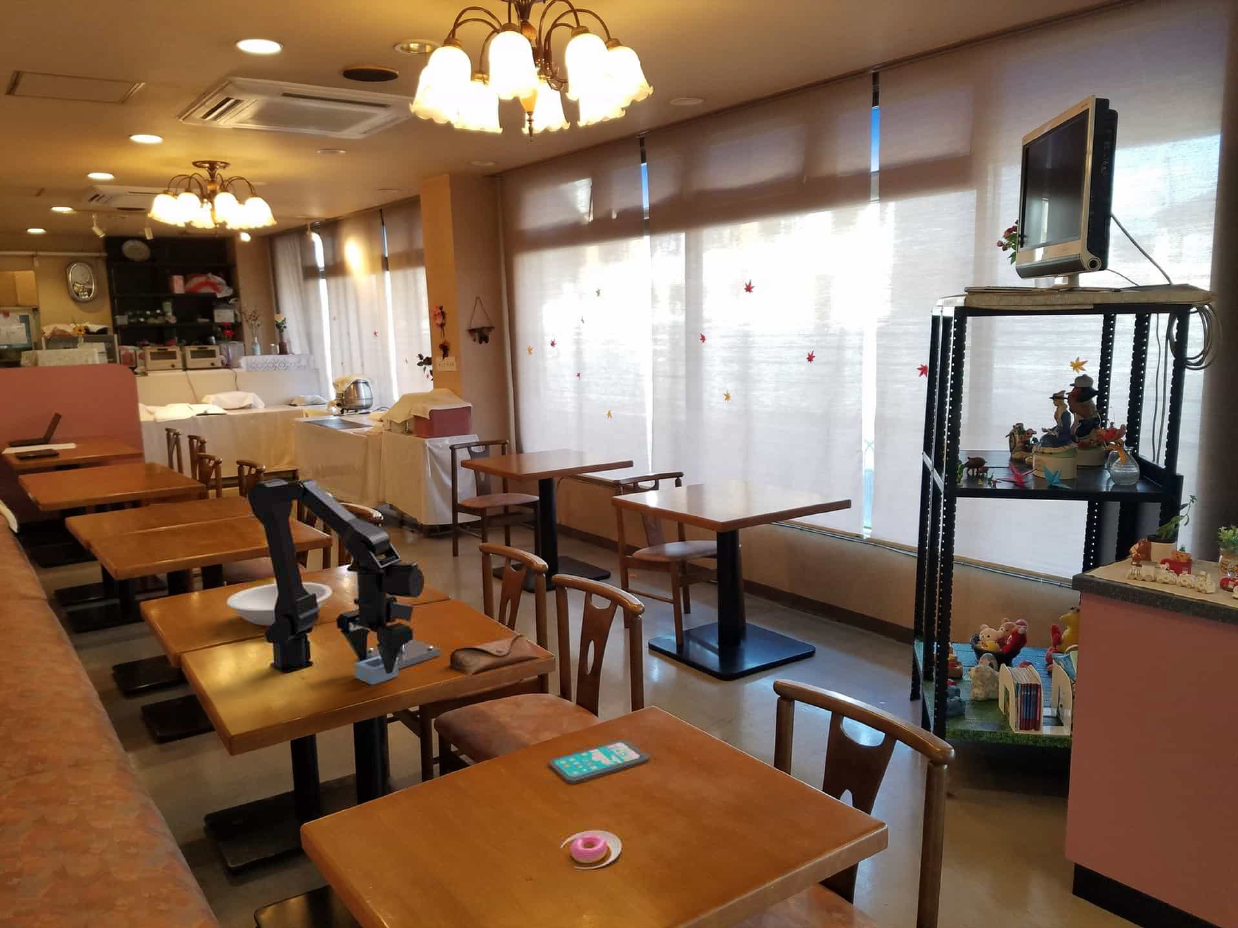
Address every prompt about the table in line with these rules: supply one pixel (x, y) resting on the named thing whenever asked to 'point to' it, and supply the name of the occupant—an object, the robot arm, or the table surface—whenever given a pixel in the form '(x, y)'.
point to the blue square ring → (374, 671)
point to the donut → (594, 846)
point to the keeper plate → (409, 653)
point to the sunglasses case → (492, 655)
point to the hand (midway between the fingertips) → (376, 667)
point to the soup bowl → (268, 601)
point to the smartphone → (598, 761)
